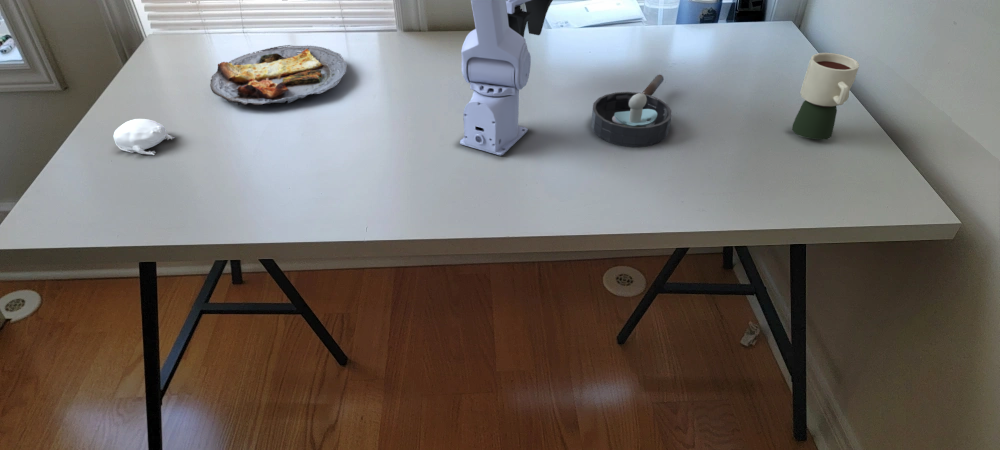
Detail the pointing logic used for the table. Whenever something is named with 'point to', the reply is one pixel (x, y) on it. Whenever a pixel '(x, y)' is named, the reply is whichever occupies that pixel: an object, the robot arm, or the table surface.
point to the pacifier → (636, 113)
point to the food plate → (278, 74)
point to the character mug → (824, 94)
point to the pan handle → (653, 85)
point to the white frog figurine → (140, 135)
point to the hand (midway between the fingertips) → (525, 41)
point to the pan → (627, 134)
